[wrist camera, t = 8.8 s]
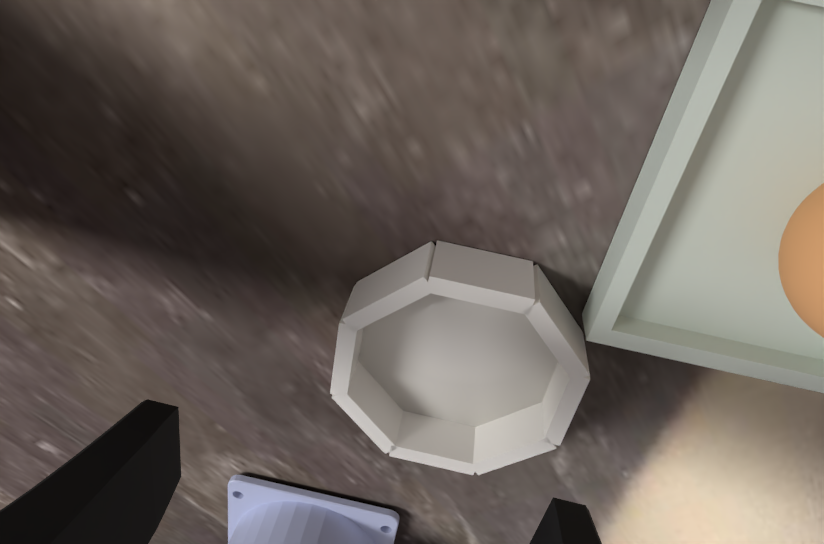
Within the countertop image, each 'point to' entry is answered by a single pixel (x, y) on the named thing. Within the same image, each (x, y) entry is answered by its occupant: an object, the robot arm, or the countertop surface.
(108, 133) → the countertop surface
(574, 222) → the countertop surface
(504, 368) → the bowl
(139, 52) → the countertop surface
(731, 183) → the tray
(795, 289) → the rubber ball
